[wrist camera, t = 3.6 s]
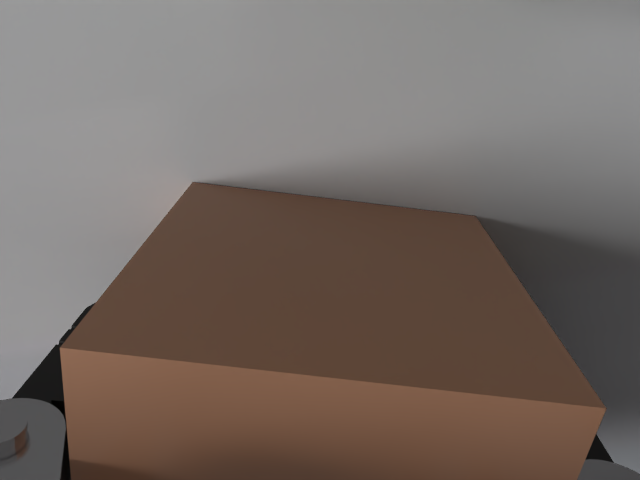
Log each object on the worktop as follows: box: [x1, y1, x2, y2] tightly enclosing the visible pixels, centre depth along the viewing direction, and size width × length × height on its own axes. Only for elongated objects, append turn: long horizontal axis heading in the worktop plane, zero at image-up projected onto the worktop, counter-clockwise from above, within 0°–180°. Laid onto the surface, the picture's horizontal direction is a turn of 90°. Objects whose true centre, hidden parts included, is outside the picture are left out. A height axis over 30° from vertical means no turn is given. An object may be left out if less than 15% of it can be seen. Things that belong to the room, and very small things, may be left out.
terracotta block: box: [60, 182, 606, 480], centre depth 8 cm, size 5×5×5 cm
